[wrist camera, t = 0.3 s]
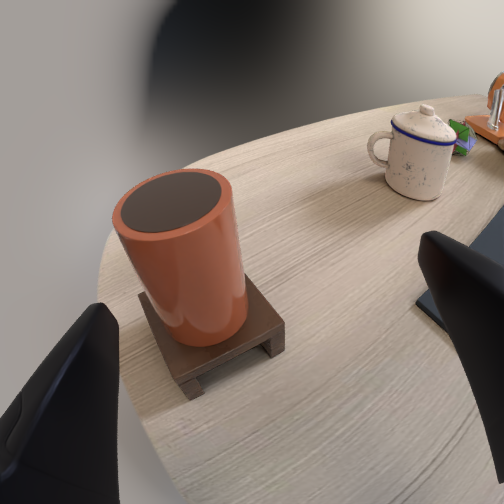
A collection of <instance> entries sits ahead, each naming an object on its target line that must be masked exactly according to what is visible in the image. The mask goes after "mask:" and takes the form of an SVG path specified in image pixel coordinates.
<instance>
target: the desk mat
mask: <svg viewBox="0 0 504 504" xmlns="http://www.w3.org/2000/svg"><path fill="white" fill-rule="evenodd" d="M469 247H470V248H471V249H473V250H475V251H477V252H479V253H481V254H483V255H485V256H486V257H488V258H490V259H492V260H494V261H496V262H497V263H499V264H501V265H503V266H504V205H503V207H502V208H501V209H500V210H499V212H498V213H497V214H496V215H495V217H494V218H493V219H492V220H491V222H490V223H489V224H488V225H487V226H486V228H485V229H484V230H483V231H482V232H481V234H480V235H479V236H478V237H477V238H476V239H475V241H474V242H473V243H472V244H471V245H470V246H469ZM416 305H418V306H419V307H420V308H421V309H422V310H423V311H424V312H426V313H427V314H428V315H429V316H430V317H431V318H432V319H433V320H434V321H436V322H437V323H438V324H439V325H440V326H441V327H442V328H443V329H444V330H445V331H446V332H448V331H447V329H446V327H445V325H444V323H443V321H442V318H441V316H440V314H439V312H438V310H437V308H436V305H435V303H434V300H433V298H432V295H431V293H430V290H429V289H428V290H427V291H426V292H425V293H424V294H423V295H422V296H421V297H419V298H418V299H417V301H416Z"/></svg>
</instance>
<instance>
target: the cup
mask: <svg viewBox="0 0 504 504" xmlns="http://www.w3.org/2000/svg"><path fill="white" fill-rule="evenodd" d="M112 222H113V225H114V228H115V230H116V233H117V235H118V237H119V239H120V242H121V244H122V246H123V248H124V250H125V252H126V255H127V257H128V259H129V261H130V263H131V265H132V267H133V269H134V271H135V273H136V275H137V277H138V279H139V281H140V283H141V285H142V287H143V289H144V291H145V293H146V295H147V297H148V299H149V301H150V303H151V304H152V306H153V308H154V310H155V312H156V314H157V316H158V317H159V319H160V321H161V323H162V325H163V326H164V328H165V330H166V331H167V333H168V334H169V335H170V336H171V337H172V338H173V339H175V340H176V341H178V342H180V343H182V344H185V345H189V346H195V347H205V346H211V345H215V344H218V343H221V342H223V341H225V340H227V339H228V338H230V337H231V336H233V335H234V334H235V333H236V332H237V331H238V330H239V329H240V328H241V326H242V325H243V323H244V322H245V320H246V317H247V314H248V309H249V302H248V295H247V289H246V282H245V275H244V269H243V262H242V255H241V248H240V241H239V235H238V228H237V221H236V214H235V207H234V200H233V193H232V187H231V185H230V183H229V181H228V180H227V179H226V178H225V177H224V176H222V175H220V174H219V173H216V172H214V171H210V170H205V169H181V170H174V171H169V172H166V173H162V174H159V175H156V176H154V177H151V178H149V179H147V180H145V181H143V182H141V183H139V184H138V185H136V186H135V187H133V188H132V189H131V190H129V191H128V192H127V193H126V194H125V195H124V196H123V197H122V198H121V199H120V200H119V202H118V203H117V205H116V207H115V209H114V212H113V216H112Z"/></svg>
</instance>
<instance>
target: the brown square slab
mask: <svg viewBox="0 0 504 504" xmlns="http://www.w3.org/2000/svg"><path fill="white" fill-rule="evenodd" d="M244 275H245V282H246V289H247V295H248V302H249V309H248V314H247V317H246V320H245V322H244V323H243V325H242V326H241V328H240V329H239V330H238V331H237V332H236V333H235V334H234V335H233V336H231V337H230V338H228V339H227V340H225V341H223V342H221V343H218V344H215V345H211V346H205V347H195V346H189V345H185V344H182V343H180V342H178V341H176V340H175V339H173V338H172V337H171V336H170V335H169V334H168V333H167V331H166V330H165V328H164V326H163V325H162V323H161V321H160V319H159V317H158V316H157V314H156V312H155V310H154V308H153V306H152V304H151V303H150V301H149V299H148V297H147V295H146V293H145V291H144V292H142V293H140V294H138V297H139V300H140V302H141V305H142V308H143V310H144V313H145V315H146V318H147V320H148V323H149V325H150V327H151V330H152V332H153V335H154V337H155V339H156V342H157V344H158V346H159V349H160V351H161V353H162V355H163V358H164V360H165V362H166V364H167V366H168V368H169V371H170V373H171V375H172V377H173V379H174V381H175V382H176V383H177V384H178V386H179V387H180V388H181V390H182V391H183V392H184V393H185V395H186V396H187V397H188V398H189V399H190V400H192V399H195V398H197V397H199V396H201V395H203V394H204V391H203V389H202V388H201V386H200V384H199V382H198V380H197V378H196V377H197V376H199V375H201V374H203V373H205V372H207V371H209V370H211V369H213V368H215V367H217V366H219V365H221V364H223V363H225V362H227V361H229V360H230V359H232V358H234V357H236V356H238V355H240V354H242V353H244V352H246V351H247V350H249V349H251V348H253V347H255V346H257V345H258V344H260V343H261V344H262V346H263V347H264V348H265V350H266V351H267V352H268V354H269V355H270V356H271V358H272V357H274V356H276V355H277V354H279V353H281V352H283V351H284V350H285V322H284V321H283V319H282V318H281V317H280V316H279V314H278V313H277V312H276V311H275V310H274V308H273V307H272V306H271V305H270V303H269V302H268V301H267V300H266V299H265V297H264V296H263V295H262V294H261V292H260V291H259V290H258V289H257V288H256V286H255V285H254V284H253V283H252V281H251V280H250V279H249V278H248V276H247V275H246V274H245V273H244Z"/></svg>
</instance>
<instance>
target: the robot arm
mask: <svg viewBox="0 0 504 504" xmlns="http://www.w3.org/2000/svg"><path fill="white" fill-rule="evenodd" d="M418 263H419V266H420V268H421V270H422V273H423V275H424V278H425V280H426V283H427V285H428V288H429V290H430V293H431V295H432V298H433V300H434V303H435V305H436V308H437V310H438V312H439V314H440V316H441V318H442V321H443V323H444V325H445V327H446V329H447V331H448V333H449V336H450V338H451V340H452V342H453V344H454V347H455V349H456V351H457V354H458V356H459V358H460V361H461V363H462V366H463V368H464V371H465V373H466V376H467V378H468V381H469V383H470V386H471V389H472V392H473V394H474V397H475V400H476V403H477V406H478V409H479V412H480V415H481V418H482V421H483V424H484V427H485V431H486V435H487V438H488V442H489V445H490V449H491V453H492V457H493V461H494V465H495V469H496V474H497V478H498V482H499V484H501V483H504V266H503V265H501V264H499V263H497V262H496V261H494V260H492V259H490V258H488V257H486V256H485V255H483V254H481V253H479V252H477V251H475V250H473V249H471V248H470V247H468V246H466V245H464V244H462V243H460V242H458V241H456V240H454V239H452V238H450V237H448V236H446V235H444V234H442V233H440V232H438V231H429V232H425V233H423V234H422V236H421V240H420V246H419V252H418ZM118 393H119V325H118V322H117V320H116V318H115V317H114V316H113V314H112V313H111V312H110V310H109V309H108V307H107V306H106V305H105V304H104V303H101V302H100V303H95V304H91V305H90V306H89V307H88V308H87V309H86V310H85V311H84V312H83V314H82V315H81V316H80V317H79V318H78V319H77V320H76V322H75V323H74V324H73V325H72V326H71V327H70V329H69V330H68V331H67V332H66V333H65V335H64V336H63V337H62V338H61V340H60V341H59V342H58V343H57V344H56V346H55V347H54V348H53V349H52V351H51V352H50V353H49V354H48V356H47V357H46V358H45V359H44V361H43V362H42V363H41V364H40V366H39V367H38V368H37V370H36V371H35V372H34V374H33V375H32V376H31V377H30V379H29V380H28V382H27V383H26V384H25V385H24V387H23V388H22V390H21V391H20V392H19V394H18V395H17V396H16V398H15V399H14V401H13V402H12V403H11V405H10V406H9V407H8V409H7V410H6V411H5V413H4V414H3V415H2V417H1V418H0V504H120V500H119V485H118V462H117V461H118V459H117V419H118Z"/></svg>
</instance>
